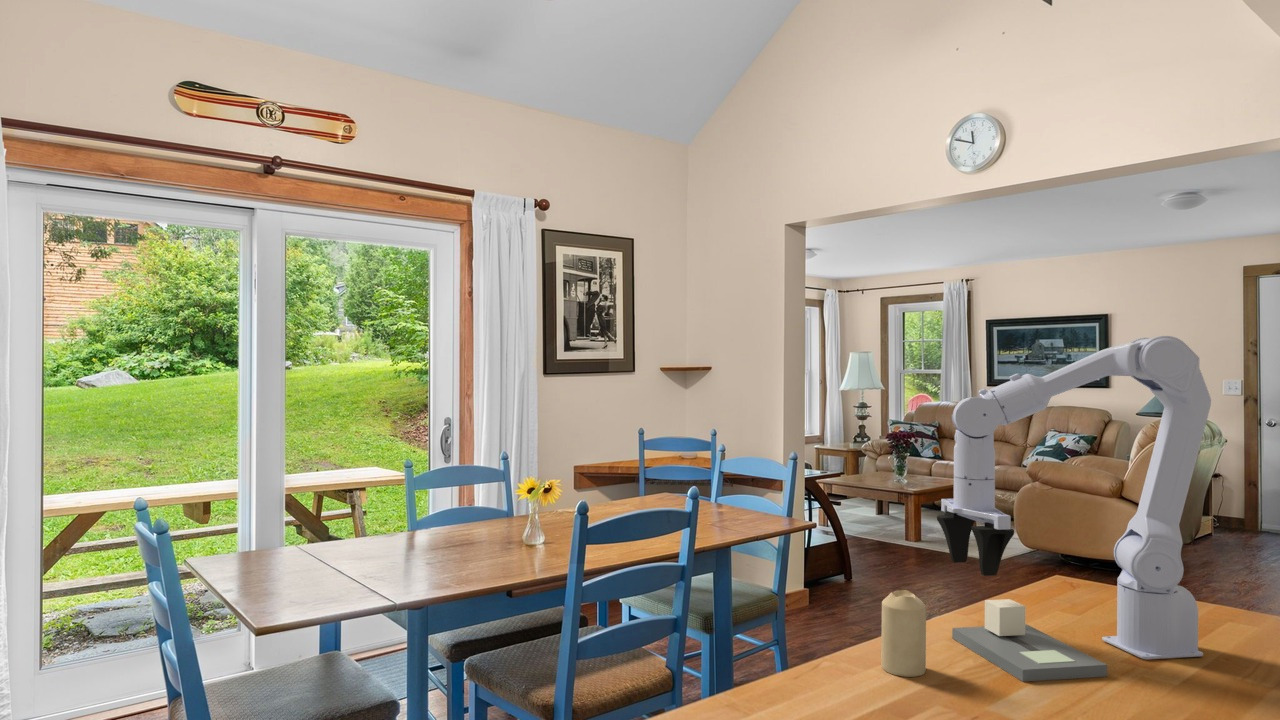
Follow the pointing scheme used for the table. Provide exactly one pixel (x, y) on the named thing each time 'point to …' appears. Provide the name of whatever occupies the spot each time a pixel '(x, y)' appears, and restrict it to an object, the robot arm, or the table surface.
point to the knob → (1005, 617)
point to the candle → (903, 634)
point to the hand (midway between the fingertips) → (973, 568)
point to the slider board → (1030, 654)
